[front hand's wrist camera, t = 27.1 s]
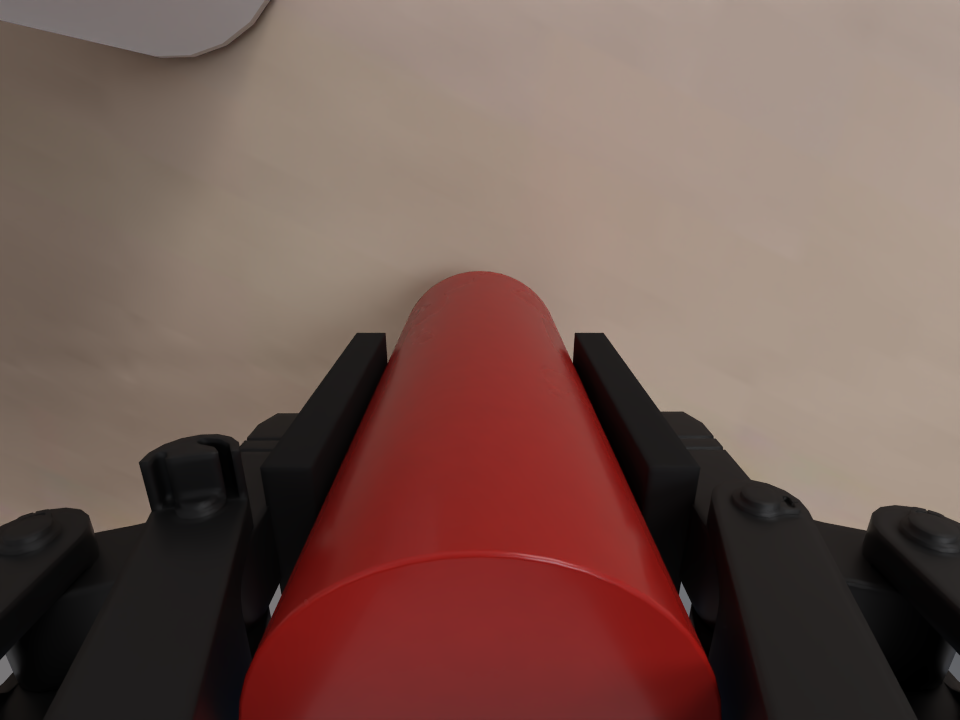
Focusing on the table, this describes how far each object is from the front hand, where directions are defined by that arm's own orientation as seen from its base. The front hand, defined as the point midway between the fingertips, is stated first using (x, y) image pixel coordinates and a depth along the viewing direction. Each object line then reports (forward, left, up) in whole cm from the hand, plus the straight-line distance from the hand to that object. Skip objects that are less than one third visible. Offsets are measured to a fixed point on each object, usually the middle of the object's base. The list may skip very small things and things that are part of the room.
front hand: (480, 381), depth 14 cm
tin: (0, 0, -3) cm, 3 cm away
